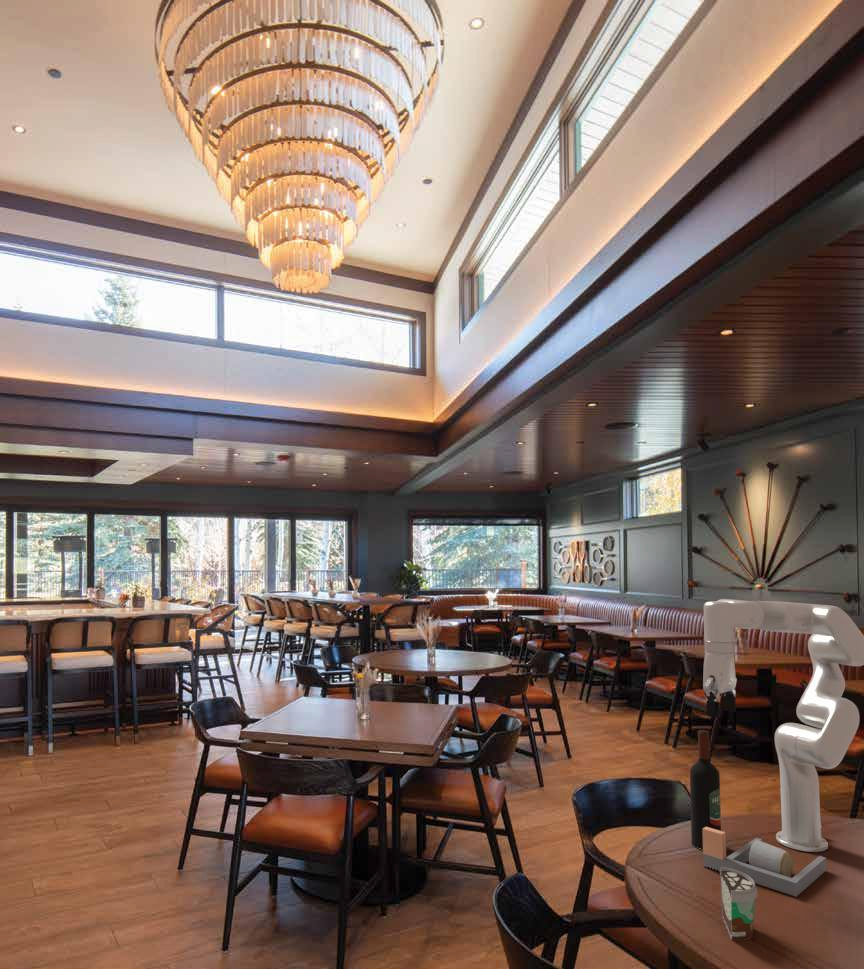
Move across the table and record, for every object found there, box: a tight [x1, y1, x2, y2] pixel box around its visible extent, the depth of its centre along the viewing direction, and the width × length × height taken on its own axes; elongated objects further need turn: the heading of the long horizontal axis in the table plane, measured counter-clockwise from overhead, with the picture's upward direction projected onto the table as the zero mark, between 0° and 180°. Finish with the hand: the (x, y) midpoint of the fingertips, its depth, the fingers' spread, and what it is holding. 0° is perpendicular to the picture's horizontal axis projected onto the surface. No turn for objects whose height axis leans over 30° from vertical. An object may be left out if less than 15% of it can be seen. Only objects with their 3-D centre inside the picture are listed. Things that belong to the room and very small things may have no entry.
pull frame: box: [702, 827, 827, 898], centre depth 178 cm, size 20×22×9 cm
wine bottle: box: [689, 729, 722, 849], centre depth 193 cm, size 8×8×30 cm
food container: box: [719, 867, 759, 941], centre depth 148 cm, size 12×6×10 cm, turn 168°
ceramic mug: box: [748, 840, 794, 878], centre depth 174 cm, size 11×8×8 cm
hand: (721, 714), depth 187 cm, fingers open, 9 cm apart
